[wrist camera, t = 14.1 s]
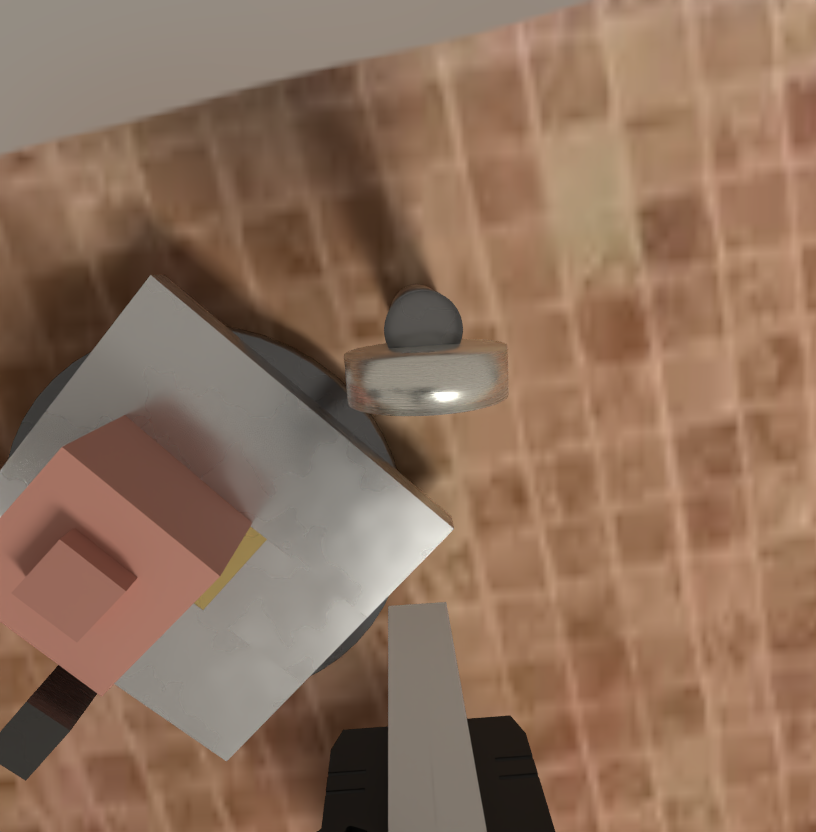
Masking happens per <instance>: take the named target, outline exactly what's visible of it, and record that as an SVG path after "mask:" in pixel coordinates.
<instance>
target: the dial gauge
mask: <svg viewBox="0 0 816 832" xmlns="http://www.w3.org/2000/svg"><path fill="white" fill-rule="evenodd" d="M384 334H385V340H386V343H385V344H378V345H372V346H366V347H362V348H357V349H354V350H351V351H348V352H346V353H345V354H344V363H345V374H346V386H347V398H348V405H349V406H350V407H351V408H353V409H355V410H358V411H361V412H366V413H371V414H378V415H390V416H429V415H443V414H452V413H460V412H467V411H472V410H477V409H482V408H486V407H489V406H492V405H495V404H498V403H500V402H502V401H504V400H505V399H506V398H507V397H508V347H507V344H505V343H503V342H498V341H492V340H481V339H462V334H463V326H462V320H461V316H460V314H459V312H458V310H457V308H456V307H455V305H454V304H453V303H452V302H451V301H450V300H449V299H448V298H446V297H445V296H443V295H441V294H440V293H438V292H436V291H434V290H433V289H431V288H429V287H427V286H425V285H420V284H413V285H409V286H406V287H404V288H403V289H401V290H400V291H399V292H398V293H397V294H396V295H395V297H394V299H393V301H392V304H391V306H390V309H389V312H388V314H387V317H386V320H385V326H384Z"/></svg>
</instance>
